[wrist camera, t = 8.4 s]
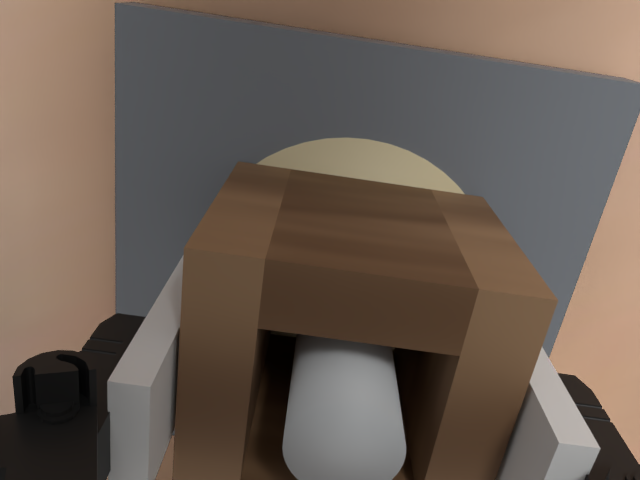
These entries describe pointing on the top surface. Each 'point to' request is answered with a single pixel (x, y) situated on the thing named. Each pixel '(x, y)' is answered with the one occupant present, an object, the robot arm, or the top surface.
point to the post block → (351, 174)
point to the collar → (353, 318)
